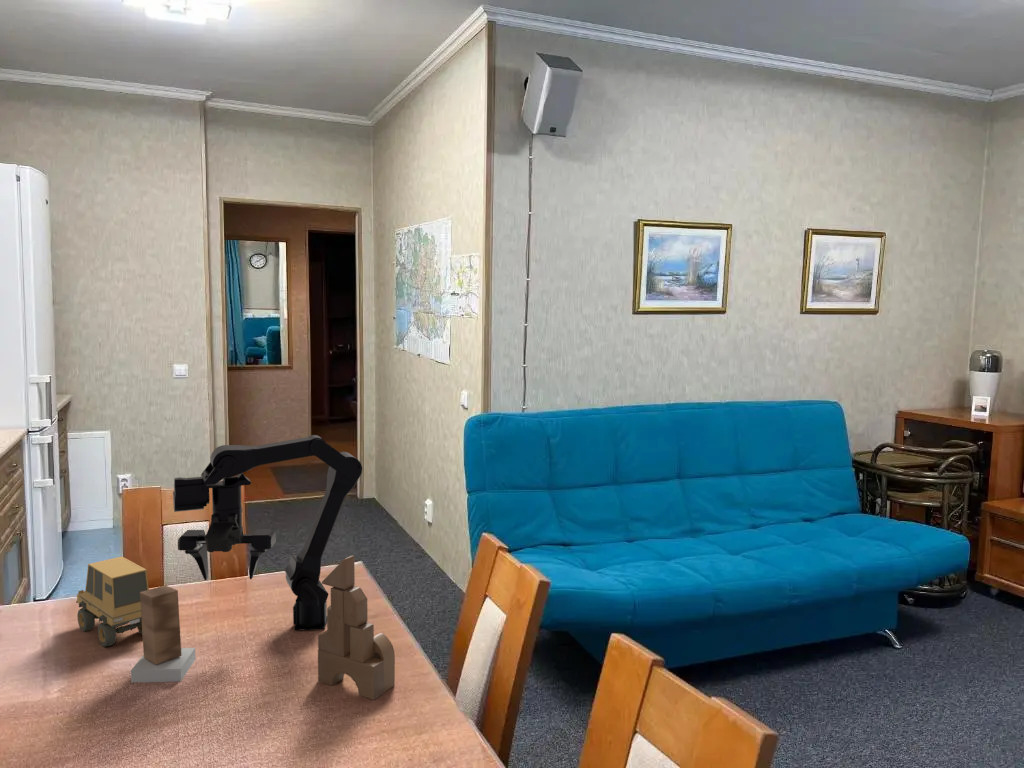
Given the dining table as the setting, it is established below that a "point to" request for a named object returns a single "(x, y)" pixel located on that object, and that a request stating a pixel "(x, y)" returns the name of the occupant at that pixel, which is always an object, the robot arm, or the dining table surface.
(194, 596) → the dining table surface
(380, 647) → the wooden toy
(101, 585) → the toy car
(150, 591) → the walnut block
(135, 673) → the grey block
